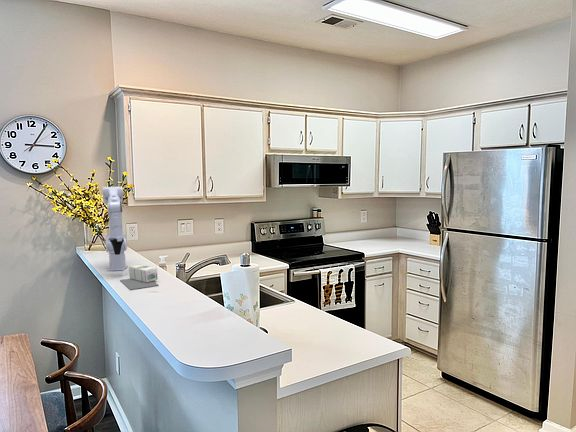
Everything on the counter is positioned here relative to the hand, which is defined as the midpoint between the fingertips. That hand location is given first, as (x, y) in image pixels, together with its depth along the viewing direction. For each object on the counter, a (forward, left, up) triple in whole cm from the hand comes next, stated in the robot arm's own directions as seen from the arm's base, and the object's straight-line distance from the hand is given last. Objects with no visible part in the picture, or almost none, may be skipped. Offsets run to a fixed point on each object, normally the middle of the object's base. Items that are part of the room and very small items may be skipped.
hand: (117, 254), depth 201 cm
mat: (+18, +13, -10) cm, 24 cm away
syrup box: (+7, +9, -7) cm, 13 cm away
